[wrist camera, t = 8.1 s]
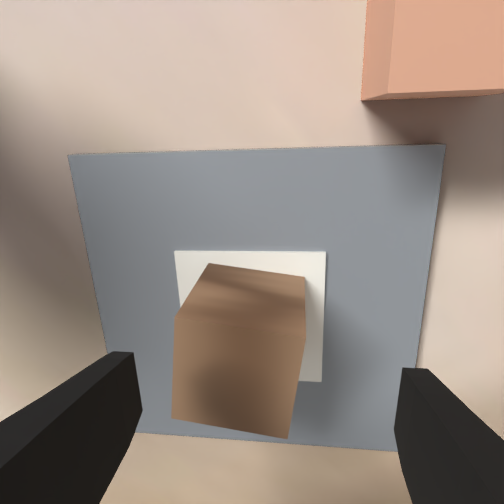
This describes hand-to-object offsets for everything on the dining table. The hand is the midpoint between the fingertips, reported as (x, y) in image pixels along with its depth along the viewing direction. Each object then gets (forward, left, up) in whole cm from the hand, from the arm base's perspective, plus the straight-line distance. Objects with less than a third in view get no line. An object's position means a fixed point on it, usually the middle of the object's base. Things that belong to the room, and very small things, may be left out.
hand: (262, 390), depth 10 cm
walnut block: (-1, -2, -8) cm, 8 cm away
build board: (-1, -2, -8) cm, 9 cm away
